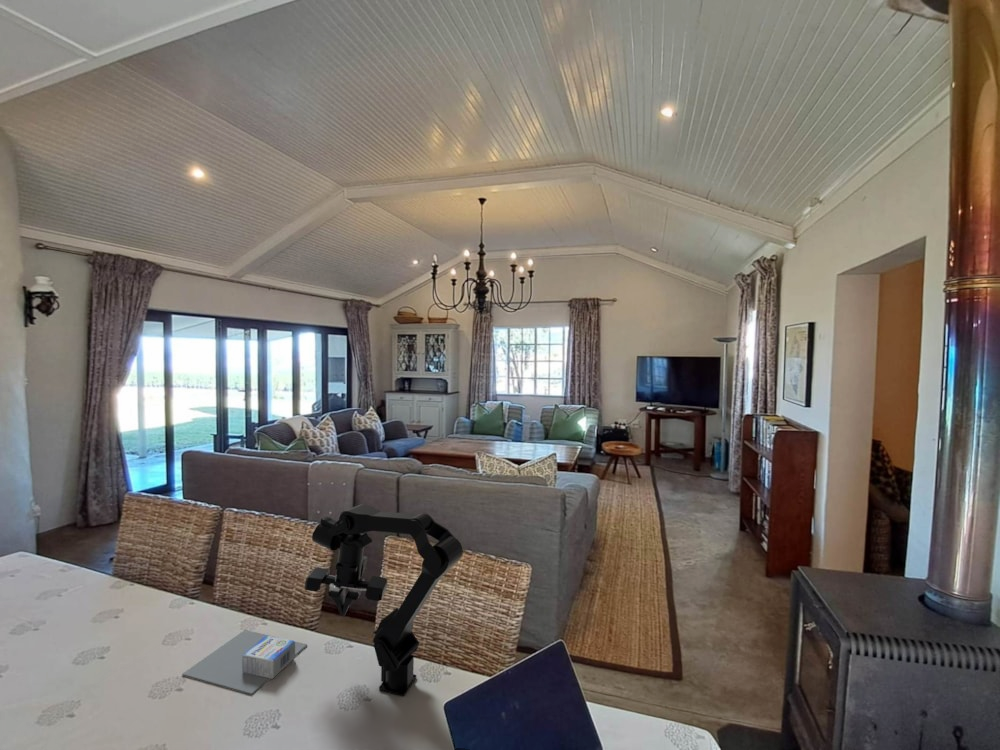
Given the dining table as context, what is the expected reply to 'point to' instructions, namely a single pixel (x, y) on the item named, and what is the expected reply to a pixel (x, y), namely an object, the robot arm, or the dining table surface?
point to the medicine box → (268, 657)
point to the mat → (232, 664)
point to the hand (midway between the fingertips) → (343, 615)
